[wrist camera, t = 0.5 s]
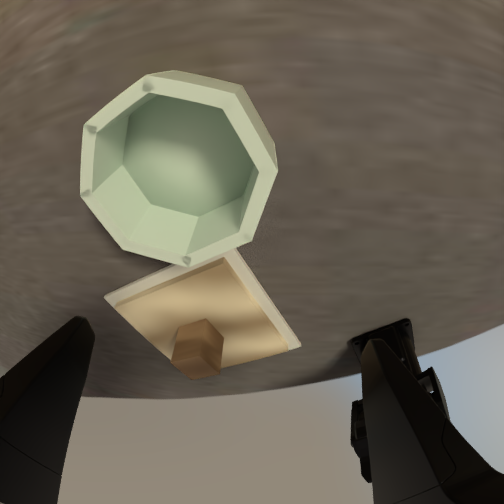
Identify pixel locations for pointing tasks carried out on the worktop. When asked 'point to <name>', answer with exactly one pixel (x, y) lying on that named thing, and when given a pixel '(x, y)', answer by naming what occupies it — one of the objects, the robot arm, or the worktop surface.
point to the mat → (230, 256)
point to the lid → (203, 320)
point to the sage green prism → (178, 167)
